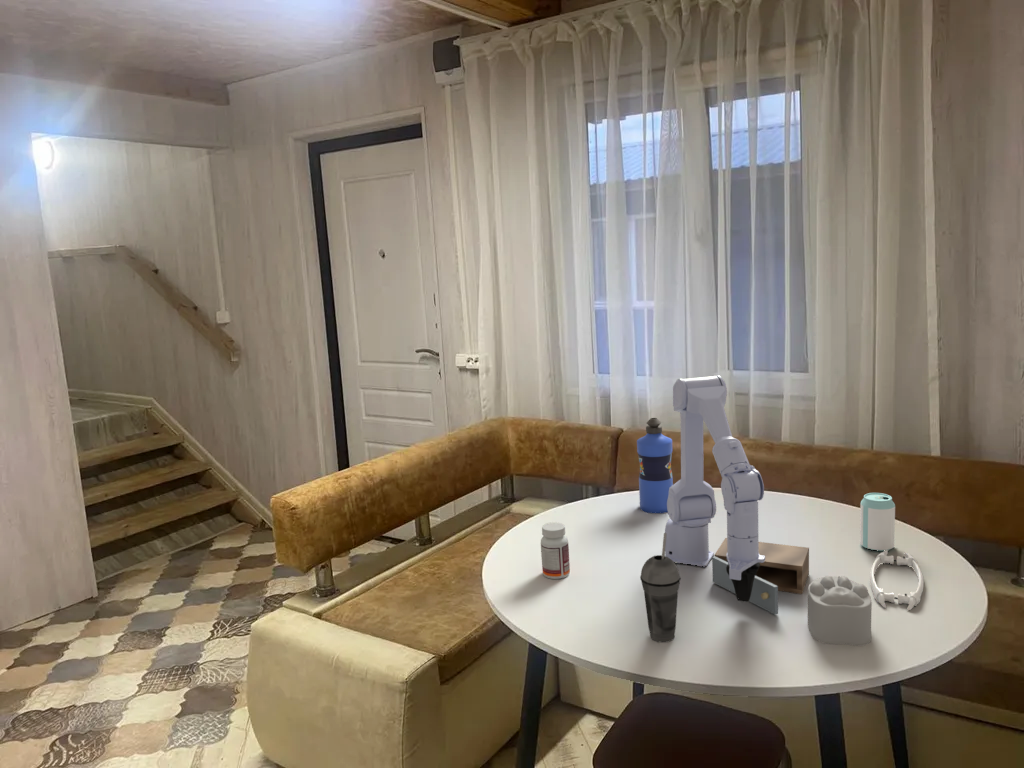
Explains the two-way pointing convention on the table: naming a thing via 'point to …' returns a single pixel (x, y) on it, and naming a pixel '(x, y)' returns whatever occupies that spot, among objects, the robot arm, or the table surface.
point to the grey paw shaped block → (839, 611)
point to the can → (877, 522)
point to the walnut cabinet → (780, 565)
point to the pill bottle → (554, 551)
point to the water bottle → (654, 468)
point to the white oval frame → (906, 599)
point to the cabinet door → (761, 592)
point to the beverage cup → (661, 595)
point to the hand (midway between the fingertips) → (743, 599)
